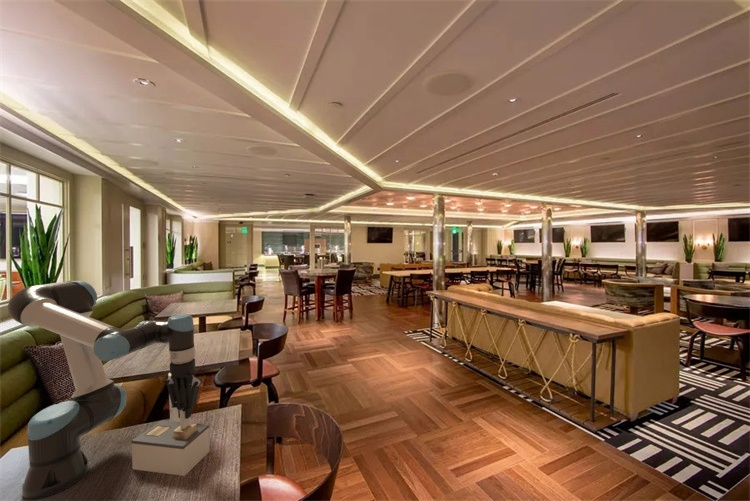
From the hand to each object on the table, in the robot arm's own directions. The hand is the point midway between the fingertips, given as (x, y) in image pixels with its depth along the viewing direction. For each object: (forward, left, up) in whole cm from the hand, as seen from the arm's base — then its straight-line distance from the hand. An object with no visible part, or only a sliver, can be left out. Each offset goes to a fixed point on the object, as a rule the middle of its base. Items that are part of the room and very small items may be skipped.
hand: (185, 426), depth 109 cm
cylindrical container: (-15, +14, -13) cm, 24 cm away
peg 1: (-11, 0, -11) cm, 15 cm away
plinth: (-6, 0, -13) cm, 14 cm away
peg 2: (0, 0, -8) cm, 8 cm away
